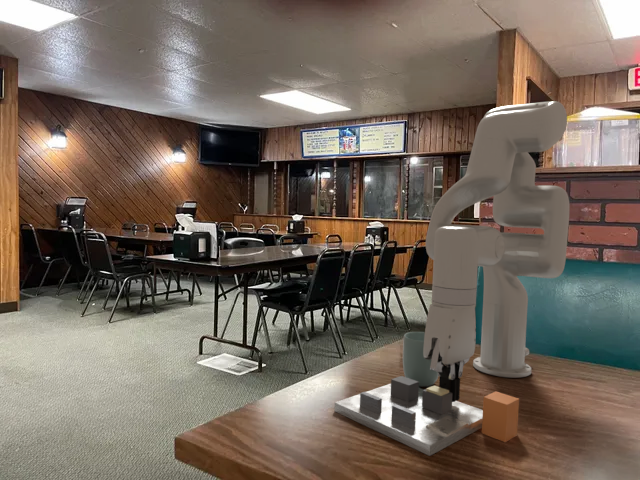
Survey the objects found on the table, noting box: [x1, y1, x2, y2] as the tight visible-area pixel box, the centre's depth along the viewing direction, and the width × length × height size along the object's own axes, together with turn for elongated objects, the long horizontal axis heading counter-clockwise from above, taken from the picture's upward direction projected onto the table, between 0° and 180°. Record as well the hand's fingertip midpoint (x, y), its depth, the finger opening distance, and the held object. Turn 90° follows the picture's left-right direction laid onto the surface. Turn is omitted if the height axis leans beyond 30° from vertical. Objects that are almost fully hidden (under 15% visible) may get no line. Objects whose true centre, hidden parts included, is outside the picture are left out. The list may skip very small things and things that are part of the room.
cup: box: [402, 331, 439, 388], centre depth 100 cm, size 8×8×10 cm
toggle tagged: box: [422, 385, 452, 415], centre depth 83 cm, size 3×4×3 cm
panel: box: [334, 383, 483, 456], centre depth 83 cm, size 18×20×4 cm
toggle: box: [390, 375, 420, 402], centre depth 88 cm, size 3×4×3 cm
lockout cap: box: [481, 390, 520, 443], centre depth 78 cm, size 4×4×6 cm
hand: (448, 398), depth 85 cm, fingers closed
